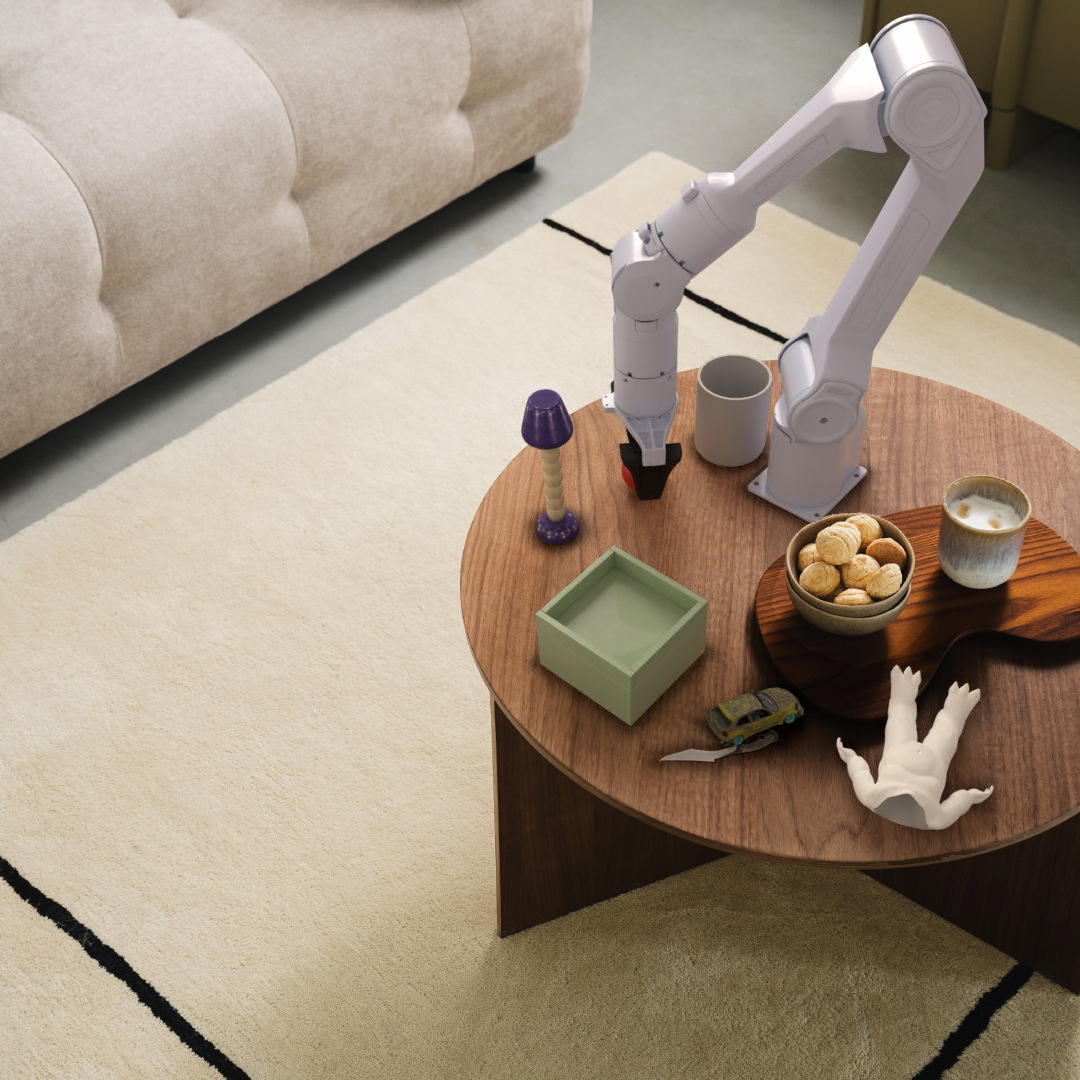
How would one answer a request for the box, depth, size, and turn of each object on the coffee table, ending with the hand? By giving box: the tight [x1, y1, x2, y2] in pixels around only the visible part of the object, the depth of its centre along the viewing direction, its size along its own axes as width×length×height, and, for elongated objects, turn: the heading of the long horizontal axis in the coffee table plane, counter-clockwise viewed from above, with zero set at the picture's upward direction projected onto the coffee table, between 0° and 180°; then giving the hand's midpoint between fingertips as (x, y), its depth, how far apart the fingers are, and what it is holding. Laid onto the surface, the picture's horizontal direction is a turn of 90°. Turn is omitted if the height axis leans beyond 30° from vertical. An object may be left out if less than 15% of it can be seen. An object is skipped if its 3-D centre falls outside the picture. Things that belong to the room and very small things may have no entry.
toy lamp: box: [520, 388, 581, 546], centre depth 105 cm, size 5×5×17 cm
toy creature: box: [836, 664, 995, 831], centre depth 89 cm, size 12×6×12 cm
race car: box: [705, 687, 805, 748], centre depth 94 cm, size 4×8×2 cm, turn 113°
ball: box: [621, 462, 636, 492], centre depth 113 cm, size 5×5×5 cm
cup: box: [694, 353, 773, 468], centre depth 116 cm, size 7×10×9 cm
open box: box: [534, 544, 709, 727], centre depth 98 cm, size 10×10×7 cm
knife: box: [658, 728, 779, 762], centre depth 93 cm, size 10×2×1 cm, turn 105°
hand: (645, 470), depth 113 cm, fingers open, 7 cm apart
